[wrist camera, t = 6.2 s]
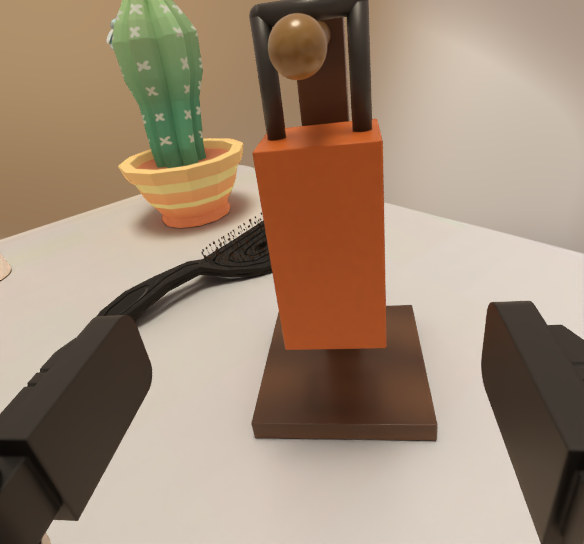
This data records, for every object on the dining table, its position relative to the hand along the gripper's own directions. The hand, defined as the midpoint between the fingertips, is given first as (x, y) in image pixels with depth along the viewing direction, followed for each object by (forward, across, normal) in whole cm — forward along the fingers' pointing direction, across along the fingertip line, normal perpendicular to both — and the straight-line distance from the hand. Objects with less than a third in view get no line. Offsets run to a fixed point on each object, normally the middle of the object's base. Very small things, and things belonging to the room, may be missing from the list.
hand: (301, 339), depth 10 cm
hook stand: (+12, 0, +14) cm, 19 cm away
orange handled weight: (+11, 0, +8) cm, 13 cm away
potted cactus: (+44, +20, +14) cm, 50 cm away
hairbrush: (+27, +12, +14) cm, 33 cm away
